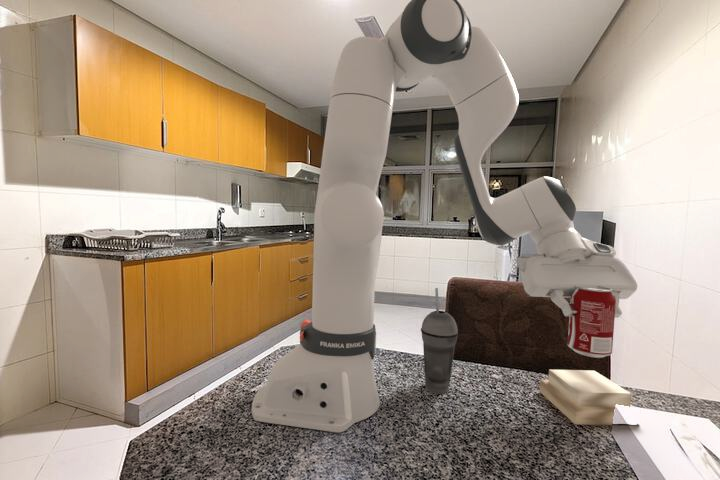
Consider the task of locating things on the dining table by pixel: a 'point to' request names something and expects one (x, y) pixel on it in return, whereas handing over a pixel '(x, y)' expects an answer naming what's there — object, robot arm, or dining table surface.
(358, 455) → the dining table surface
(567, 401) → the cream stepped square block
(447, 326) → the beverage cup
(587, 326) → the soda can
